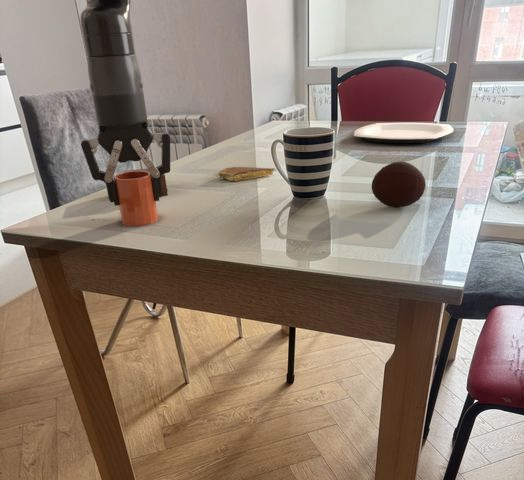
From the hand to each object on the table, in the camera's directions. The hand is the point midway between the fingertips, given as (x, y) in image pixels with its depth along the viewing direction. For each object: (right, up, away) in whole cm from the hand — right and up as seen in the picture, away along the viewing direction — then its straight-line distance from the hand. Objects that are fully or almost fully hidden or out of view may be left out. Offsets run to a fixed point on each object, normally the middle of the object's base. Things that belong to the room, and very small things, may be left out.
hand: (136, 201), depth 85 cm
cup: (0, -3, +2) cm, 4 cm away
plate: (+61, +36, +60) cm, 93 cm away
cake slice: (+17, +14, +30) cm, 37 cm away
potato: (+45, 0, +5) cm, 45 cm away
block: (-3, +8, +22) cm, 24 cm away
